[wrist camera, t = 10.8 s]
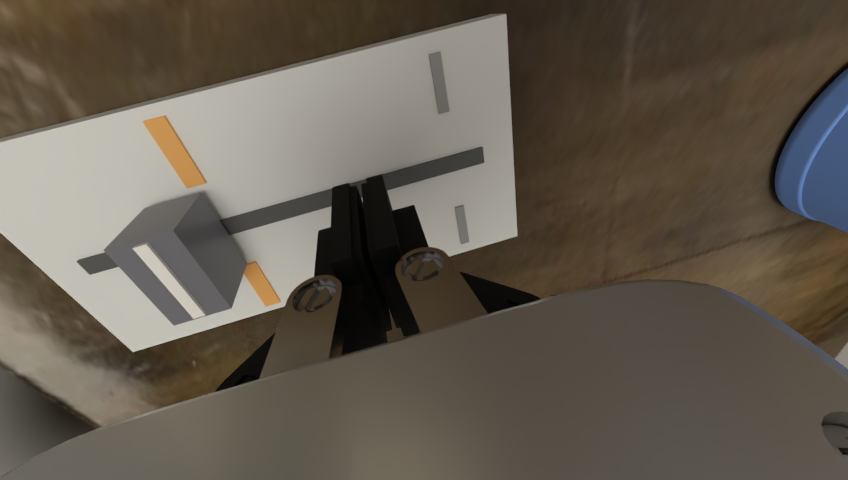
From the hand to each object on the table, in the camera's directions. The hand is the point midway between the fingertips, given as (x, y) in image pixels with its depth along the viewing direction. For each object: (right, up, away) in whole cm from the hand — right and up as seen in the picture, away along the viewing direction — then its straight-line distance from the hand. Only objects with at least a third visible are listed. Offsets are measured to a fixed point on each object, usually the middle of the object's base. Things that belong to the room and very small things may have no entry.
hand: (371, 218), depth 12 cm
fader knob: (-11, -1, +8) cm, 14 cm away
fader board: (-6, +2, +10) cm, 12 cm away
